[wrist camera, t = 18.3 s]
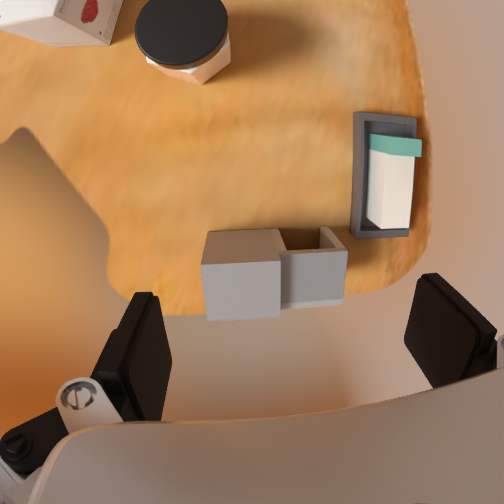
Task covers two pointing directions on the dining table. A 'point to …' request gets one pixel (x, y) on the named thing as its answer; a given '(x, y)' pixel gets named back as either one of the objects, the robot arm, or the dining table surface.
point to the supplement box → (61, 21)
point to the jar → (184, 37)
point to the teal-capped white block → (391, 179)
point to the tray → (361, 131)
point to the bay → (269, 274)
